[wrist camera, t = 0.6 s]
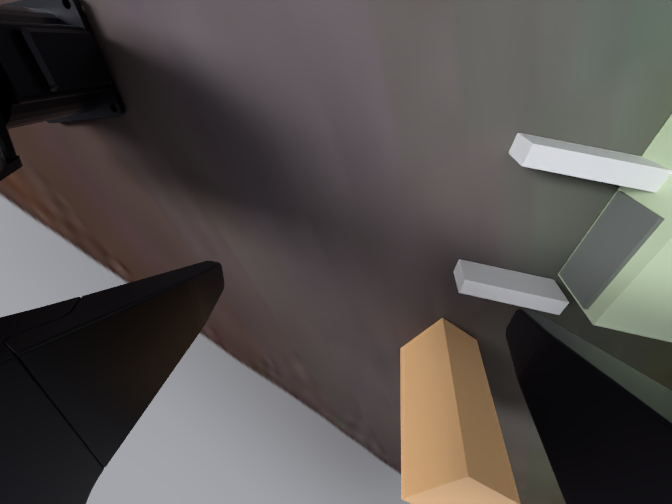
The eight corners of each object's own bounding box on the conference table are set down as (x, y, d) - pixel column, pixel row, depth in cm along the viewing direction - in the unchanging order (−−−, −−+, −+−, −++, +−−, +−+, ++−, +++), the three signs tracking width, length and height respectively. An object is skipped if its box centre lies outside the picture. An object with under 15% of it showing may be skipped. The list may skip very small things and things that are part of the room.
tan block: (400, 348, 30) (401, 499, 20) (442, 317, 27) (468, 476, 17) (432, 368, 30) (448, 522, 21) (476, 340, 28) (520, 504, 18)
